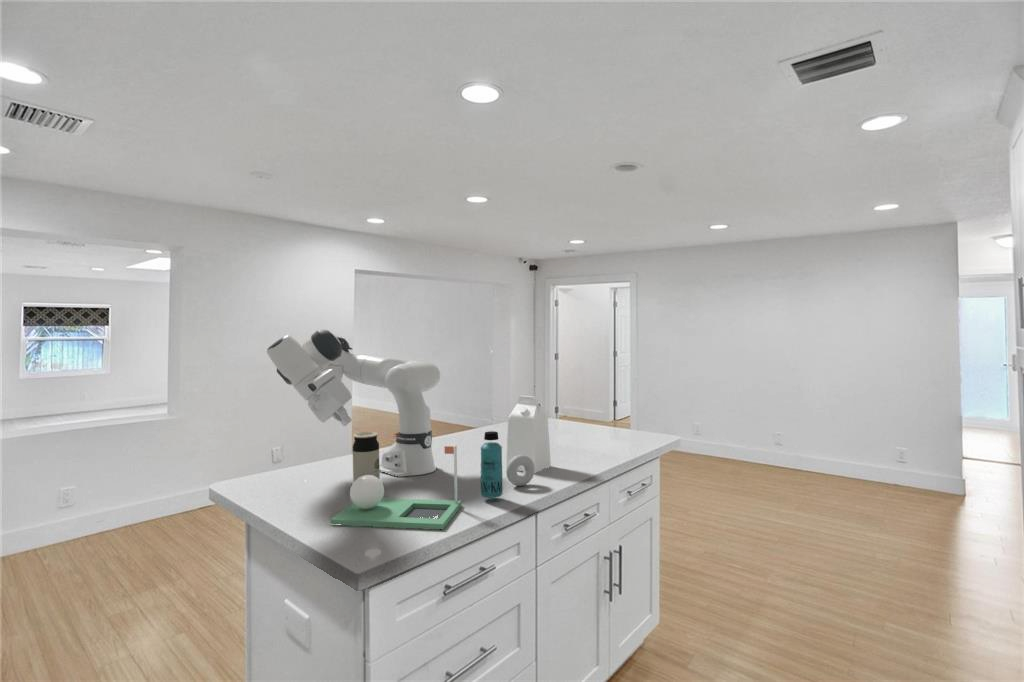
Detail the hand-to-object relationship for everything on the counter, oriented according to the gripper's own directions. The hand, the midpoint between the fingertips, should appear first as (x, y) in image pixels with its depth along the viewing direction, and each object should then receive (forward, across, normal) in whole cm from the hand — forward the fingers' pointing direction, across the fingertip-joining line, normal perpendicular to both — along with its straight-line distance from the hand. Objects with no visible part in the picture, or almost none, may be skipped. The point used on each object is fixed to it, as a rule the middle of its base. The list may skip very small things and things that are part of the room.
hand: (348, 423), depth 141 cm
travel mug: (+20, -23, -1) cm, 30 cm away
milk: (+54, -12, +44) cm, 71 cm away
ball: (+18, -2, -8) cm, 19 cm away
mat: (+28, +2, -7) cm, 29 cm away
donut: (+50, +3, +28) cm, 58 cm away
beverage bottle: (+44, +8, +14) cm, 47 cm away
